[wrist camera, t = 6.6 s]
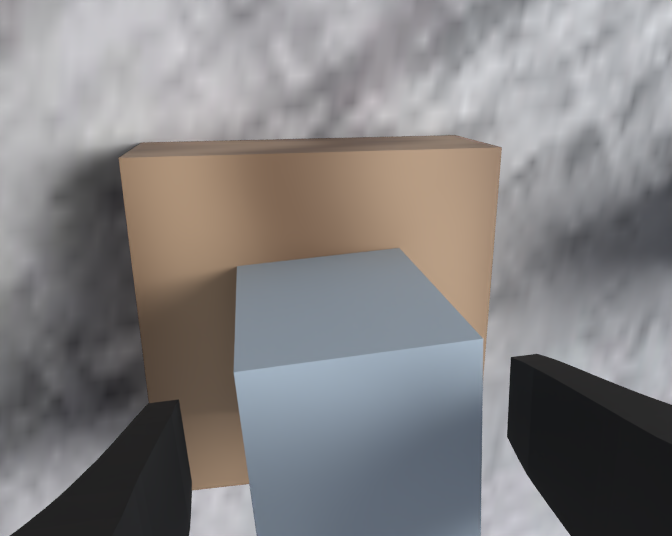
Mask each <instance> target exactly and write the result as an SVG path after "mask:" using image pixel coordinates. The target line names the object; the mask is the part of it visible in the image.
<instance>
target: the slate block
mask: <svg viewBox="0 0 672 536" xmlns="http://www.w3.org/2000/svg"><path fill="white" fill-rule="evenodd" d="M234 378H235V385H236V392H237V400H238V407H239V414H240V421H241V428H242V435H243V442H244V449H245V456H246V463H247V470H248V477H249V484H250V491H251V498H252V505H253V512H254V519H255V526H256V533H257V536H481V468H482V393H483V338H482V337H481V336H480V335H479V334H478V333H477V331H476V330H475V329H474V328H473V327H472V326H471V325H470V324H469V323H468V322H467V321H466V320H465V318H464V317H463V316H462V315H461V314H460V313H459V312H458V311H457V310H456V309H455V308H454V307H453V305H452V304H451V303H450V302H449V301H448V300H447V299H446V298H445V297H444V296H443V295H442V294H441V292H440V291H439V290H438V289H437V288H436V287H435V286H434V285H433V284H432V283H431V282H430V281H429V279H428V278H427V277H426V276H425V275H424V274H423V273H422V272H421V271H420V270H419V269H418V268H417V266H416V265H415V264H414V263H413V262H412V261H411V260H410V259H409V258H408V257H407V256H406V255H405V253H404V252H403V251H402V250H401V249H400V248H394V249H386V250H377V251H368V252H359V253H350V254H341V255H332V256H323V257H314V258H305V259H296V260H288V261H279V262H270V263H261V264H252V265H243V266H237V281H236V313H235V344H234Z"/></svg>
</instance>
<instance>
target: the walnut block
mask: <svg viewBox="0 0 672 536" xmlns="http://www.w3.org/2000/svg"><path fill="white" fill-rule="evenodd" d="M501 150H502V147H498V146H494V145H490V144H487V143H483V142H479V141H475V140H471V139H468V138H464V137H460V136H456V135H445V136H402V137H360V138H318V139H275V140H233V141H191V142H148V143H140V144H139V145H137V146H136V147H134V148H133V149H131V150H130V151H128V152H127V153H125V154H124V155H122V156H121V157H119V165H120V173H121V181H122V190H123V198H124V206H125V214H126V222H127V230H128V238H129V246H130V254H131V262H132V271H133V279H134V287H135V295H136V303H137V311H138V319H139V327H140V335H141V343H142V351H143V360H144V368H145V376H146V384H147V392H148V400H149V403H154V402H162V401H170V400H178V399H179V403H180V409H181V416H182V422H183V428H184V435H185V441H186V447H187V453H188V460H189V466H190V472H191V479H192V490H199V489H208V488H217V487H226V486H235V485H244V484H249V477H248V470H247V463H246V456H245V449H244V442H243V435H242V428H241V421H240V414H239V407H238V400H237V392H236V385H235V378H234V344H235V313H236V281H237V266H243V265H252V264H261V263H270V262H279V261H288V260H296V259H305V258H314V257H323V256H332V255H341V254H350V253H359V252H368V251H377V250H386V249H394V248H400V249H401V250H402V251H403V252H404V253H405V255H406V256H407V257H408V258H409V259H410V260H411V261H412V262H413V263H414V264H415V265H416V266H417V268H418V269H419V270H420V271H421V272H422V273H423V274H424V275H425V276H426V277H427V278H428V279H429V281H430V282H431V283H432V284H433V285H434V286H435V287H436V288H437V289H438V290H439V291H440V292H441V294H442V295H443V296H444V297H445V298H446V299H447V300H448V301H449V302H450V303H451V304H452V305H453V307H454V308H455V309H456V310H457V311H458V312H459V313H460V314H461V315H462V316H463V317H464V318H465V320H466V321H467V322H468V323H469V324H470V325H471V326H472V327H473V328H474V329H475V330H476V331H477V333H478V334H479V335H480V336H481V337H482V338H483V373H484V361H485V349H486V336H487V324H488V311H489V299H490V286H491V274H492V262H493V249H494V237H495V224H496V212H497V200H498V187H499V175H500V162H501Z"/></svg>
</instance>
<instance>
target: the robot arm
mask: <svg viewBox="0 0 672 536" xmlns="http://www.w3.org/2000/svg"><path fill="white" fill-rule="evenodd" d="M507 437H508V439H509V441H510V443H511V445H512V447H513V449H514V451H515V453H516V455H517V457H518V459H519V461H520V463H521V464H522V466H523V468H524V470H525V472H526V474H527V475H528V477H529V478H530V480H531V481H532V483H533V484H534V485H535V487H536V488H537V490H538V491H539V493H540V494H541V495H542V497H543V498H544V500H545V501H546V502H547V504H548V505H549V507H550V508H551V509H552V511H553V512H554V513H555V515H556V516H557V518H558V519H559V520H560V522H561V523H562V524H563V526H564V527H565V529H566V530H567V531H568V533H569V534H570V535H571V536H672V405H670V404H668V403H665V402H662V401H659V400H656V399H654V398H651V397H648V396H645V395H642V394H640V393H637V392H635V391H632V390H629V389H627V388H624V387H622V386H619V385H617V384H614V383H612V382H609V381H607V380H604V379H602V378H599V377H597V376H595V375H592V374H590V373H587V372H585V371H582V370H580V369H578V368H575V367H573V366H570V365H568V364H565V363H563V362H560V361H557V360H555V359H552V358H549V357H546V356H542V355H539V354H533V355H525V356H517V357H511V367H510V388H509V410H508V431H507ZM191 498H192V479H191V472H190V466H189V460H188V453H187V447H186V441H185V435H184V428H183V422H182V416H181V409H180V403H179V399H178V400H170V401H162V402H154V403H148V404H147V405H146V406H145V408H144V409H143V410H142V411H141V412H140V413H139V414H138V415H137V416H136V418H135V419H134V420H133V421H132V422H131V423H130V424H129V426H128V427H127V428H126V429H125V430H124V431H123V432H122V433H121V435H120V436H119V437H118V438H117V439H116V440H115V441H114V442H113V443H112V445H111V446H110V447H109V448H108V449H107V450H106V451H105V452H104V453H103V454H102V455H101V456H100V458H99V459H98V460H97V461H96V462H95V463H93V464H92V465H91V466H90V467H89V468H88V469H87V470H86V471H85V472H84V473H83V474H82V475H81V476H80V477H79V478H78V479H77V480H76V481H75V482H74V483H73V484H72V485H71V486H70V487H69V488H68V489H67V490H66V491H65V492H63V493H62V494H61V495H60V496H59V497H58V498H57V499H55V500H54V501H53V502H52V503H51V504H50V505H48V506H47V507H46V508H45V509H44V510H42V511H41V512H40V513H39V514H37V515H36V516H35V517H34V518H32V519H31V520H30V521H29V522H27V523H26V524H25V525H24V526H22V527H21V528H20V529H18V530H17V531H16V532H14V533H13V534H12V535H10V536H189V531H190V519H191Z"/></svg>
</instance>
